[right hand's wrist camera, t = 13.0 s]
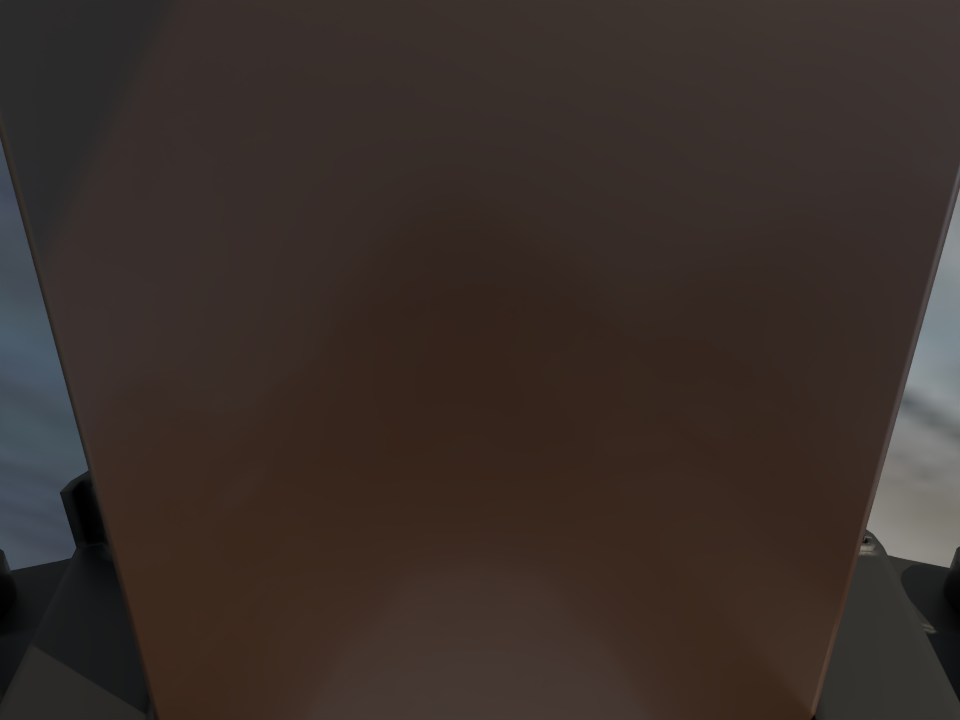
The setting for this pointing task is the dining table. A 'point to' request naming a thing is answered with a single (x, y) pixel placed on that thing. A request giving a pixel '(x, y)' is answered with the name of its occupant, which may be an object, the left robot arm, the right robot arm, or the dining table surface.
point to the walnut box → (484, 335)
